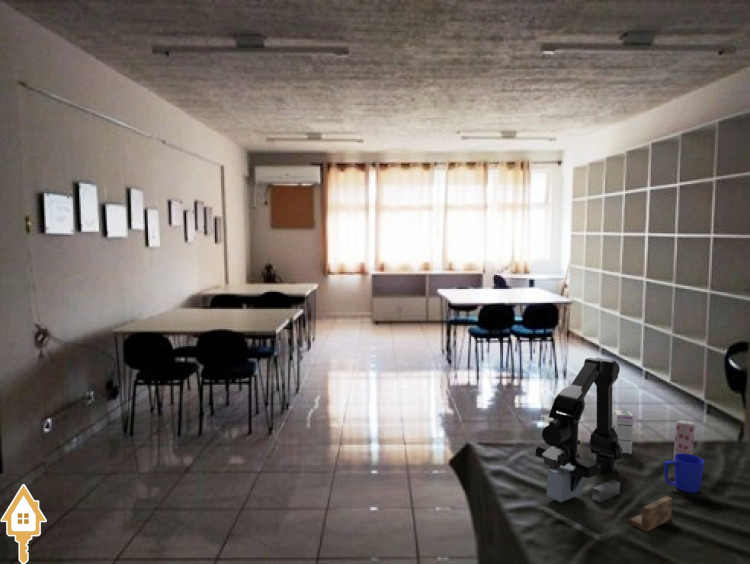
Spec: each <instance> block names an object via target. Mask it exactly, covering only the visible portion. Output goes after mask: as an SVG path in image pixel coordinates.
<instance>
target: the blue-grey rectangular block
mask: <svg viewBox="0 0 750 564" xmlns="http://www.w3.org/2000/svg"><path fill="white" fill-rule="evenodd" d="M572 470H574V466H572V465H570V464H567V465H565V466H561V465H560V467H559V468H557V469H554V468H547V476H546V477H547V481H546V482H547V483H546V496H548V497H549V498H551V499H553V500H555V501H557V502H559V503H562V502H566V501H567V500H568V501H569V500H570V499H572V498H575V497H577V496H580V495H582V494H583V493H584V492H583V490H584V477H582V479H581V480H580V482H579V484H578V486H577V487H576V489H575V491H573V492H572V491H571V474H570V473H569V471H572Z"/></svg>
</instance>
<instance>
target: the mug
mask: <svg viewBox="0 0 750 564" xmlns="http://www.w3.org/2000/svg"><path fill="white" fill-rule="evenodd" d="M673 459H675V461H673V460H665V461H664V462H663V472H664V473H663V474H664V478H665V482H666V483H667V484H668V485H670V486H675V487H676V488H677V489H678V490H679V491H682V492H685V493H687V494H688V493H690V494H695V493H699V491H700V490H701V487H702V486H701V485H702V480H703V473H704V468H705V460H704V459H703V458H701V457H700V456H697V455H694V454H693V455H691V454H684V453H680V454H676V455H675V456H674V455H673ZM669 465H674V481H673V482H671V481H670V480H669V475H668V473H669V471H668V470H669V469H668V468H669Z"/></svg>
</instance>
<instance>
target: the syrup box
mask: <svg viewBox="0 0 750 564" xmlns="http://www.w3.org/2000/svg"><path fill="white" fill-rule="evenodd" d="M612 427H613V429H614V430H615V432H616V433H617V435H618V442H619V444H620V446H621V448H622V453H629V454H628V455H632V453H633V452H632V451H633V434H634V431H633V430H634V429H633V428H634V415H633V414H632V412H631V411H630V410H625V409H614V410H613V420H612Z"/></svg>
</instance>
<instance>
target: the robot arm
mask: <svg viewBox="0 0 750 564" xmlns="http://www.w3.org/2000/svg"><path fill="white" fill-rule="evenodd" d="M620 370H621V369H620V364H619V363H618V362H617V361H616V360H613V359H607V358H601V357H595V358H593V357H586V358H585V360H584V362H583V366H582V367H581V369H580V370H579V372H578V374H577V375H576V376H575V378H574V379H573V381H572V382H571V384H570V385H569V386H567V387H565V388H562V389H561V390H560V391H559V393H558V394H557V395H556V396H555V398H554V400H553V404H552V405H551V408H550V411H549V413H548V414H549V415H548V418H550V419H553V420H550V421H549V422H548V425H547V426H545V427H544V428H542V432H541V437H542V439H543V441H544V442H545V443H543V444H541V445H538V446H536V448H535V450H534V451H535V457H537V458H539V459H543V463H544V465H546V466H549V467H550V468H554V469H557V468H559V467H560V465H561V466H565V465H567V464H570V465H572V466H574V470H572V471H569V473H570V474H571V491H572V492H573V491H575V489H576V487H577V486H578V484H579V482H580V480H581V479H582V477H583V478H586V479H589V478H592V477H595V476H597V475H599V474H606V473H607V474H612V473H615V471H616V461H617V460H622V455H623V454H622V448H621V446H620V444H619V442H618V435H617V433H616V432H615V430H614V429H613V385H614V384H615V382H616V381H617V380H618V378H619V374H620ZM593 384H594V385H595V386H596V388H595V389H596V427H595V429H594V430H593V431H592V433H591V434H590V439H589V448H590V449H589V450H590V454H595V456H596V457H595V462H594V461H591V460H588V459H586V460H583V461H579V460H578V459H579V458H580V457H581V454H580V453H578V445H581V440H580V439H579V425H580V423H579V421H580V420H581V418H582V416H583V413H584V411H585V406H586V402H585V397H586V396H587V394H588V392H589V390H590V389H591V387H592V385H593ZM550 468H549V469H550Z"/></svg>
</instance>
